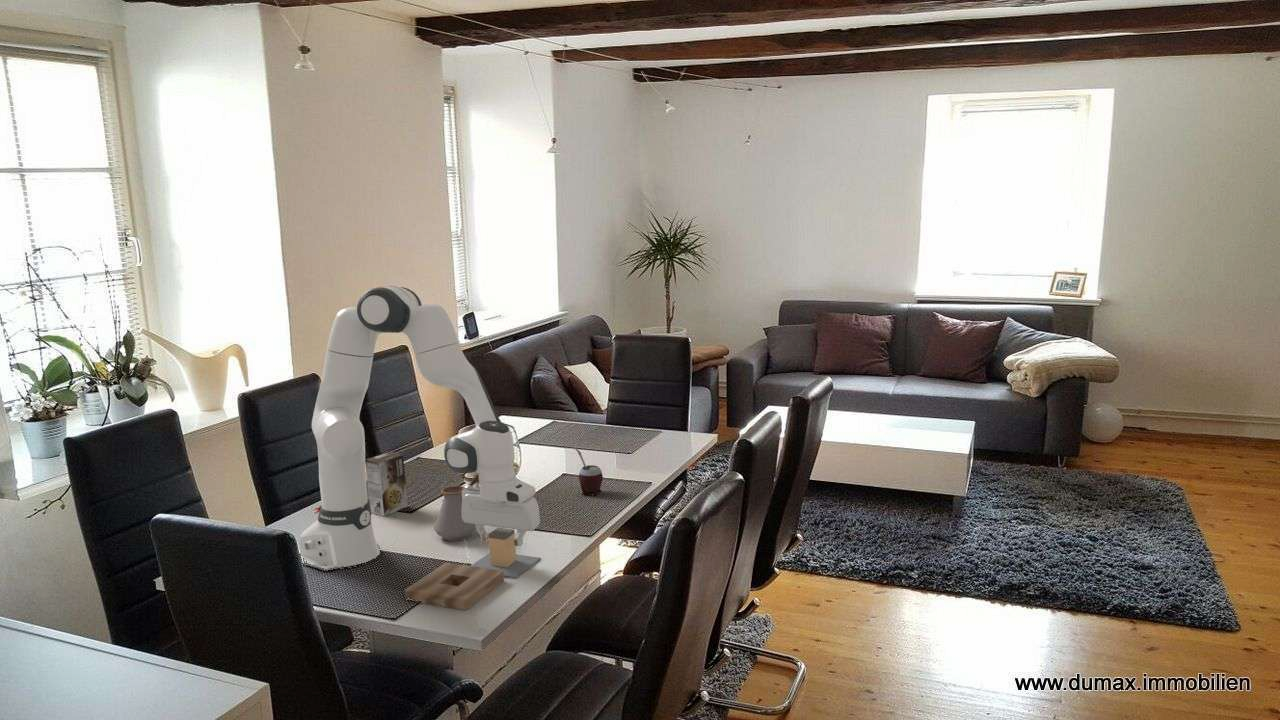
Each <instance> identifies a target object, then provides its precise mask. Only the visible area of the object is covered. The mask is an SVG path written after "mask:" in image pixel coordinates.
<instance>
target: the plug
mask: <svg viewBox="0 0 1280 720" xmlns="http://www.w3.org/2000/svg"><path fill="white" fill-rule="evenodd" d="M488 533H489V534H488V535H489V541H488V543H489V544H488V546H489V553H490V562H491V565H493V566H500V567H508V566H509V565H511V564H512V563H513V562H515V561H516V554H517V552H516V550H517V549H516V546H515V545H514V539H515V538H516V537H515V529H510V528H502V527H496V528H494V530H492V531H491V532H488Z"/></svg>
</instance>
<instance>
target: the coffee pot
mask: <svg viewBox="0 0 1280 720" xmlns="http://www.w3.org/2000/svg"><path fill="white" fill-rule="evenodd" d="M477 482H479V475H478V473H476V475H475V476H474V478H473V479H472V480H471V481H470V483H469V485H471V486H475V484H476V483H477ZM464 487H465V486H463V485H451V486H446V487H444V488H441V491H440V493H441V494H442V496H443V501H442V503H441V506H440V509H439V512H438V515H437V518H436V520H435V523H434V532H435V533H436V534H437V535H438V536H439V537H441V538H442V539H443V540H445V541H448V542H449V541H450V542H456V541H462V540H463V541H464V540H467V539H468V538H470V537H471V536H472V534H474V533H475V531H477V529H476V526H475V524H471V523H465V522H464V521H463V519H462V500H463V499H462V490H463V488H464Z"/></svg>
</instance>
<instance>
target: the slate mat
mask: <svg viewBox="0 0 1280 720" xmlns="http://www.w3.org/2000/svg"><path fill="white" fill-rule="evenodd" d="M540 560H542V559H541V557H537V556H531V555H523V554H517V553H516V561H515V562H513V563H512V564H511V565H509V566H508V567H500V566H493V565H491V562H490V552H489V553H487V554H485V555H484V556H482V557H481V558H479V559H478V560H477V561H475V562H474V563H472V565H470V566H473V567H480V568H486V569H493V570H500V571H503V574H504V578H508V579H515V580H516V579H517V578H519V577H520V576H521V575H523V574H524V573H525V572H526V571H528V570H529V569H530V568H532V567H533V566H534V565H536V564H537V563H538V562H539V561H540Z"/></svg>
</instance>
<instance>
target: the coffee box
mask: <svg viewBox="0 0 1280 720" xmlns="http://www.w3.org/2000/svg"><path fill="white" fill-rule="evenodd" d="M404 461H405V460H404V454H401V453H398V452H393V451H387V452H385V453H381V454H378V455H375V456H372V457H369V458H365V474H366V483H367V493H368V500H369V501H370V505H371V514H373V513H374V515H378V516H380V517H386V516H389V515H391V514H394V513H396V512H399V511H401V510H403V509H402V508H404V509H406V508H408V507H409V501H408V500H409V498H408V490H407V489H408V488H407V480H406V470H405V469H406V468H405V462H404ZM407 506H408V507H407ZM405 507H406V508H405ZM400 509H401V510H400ZM398 510H399V511H398Z"/></svg>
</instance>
